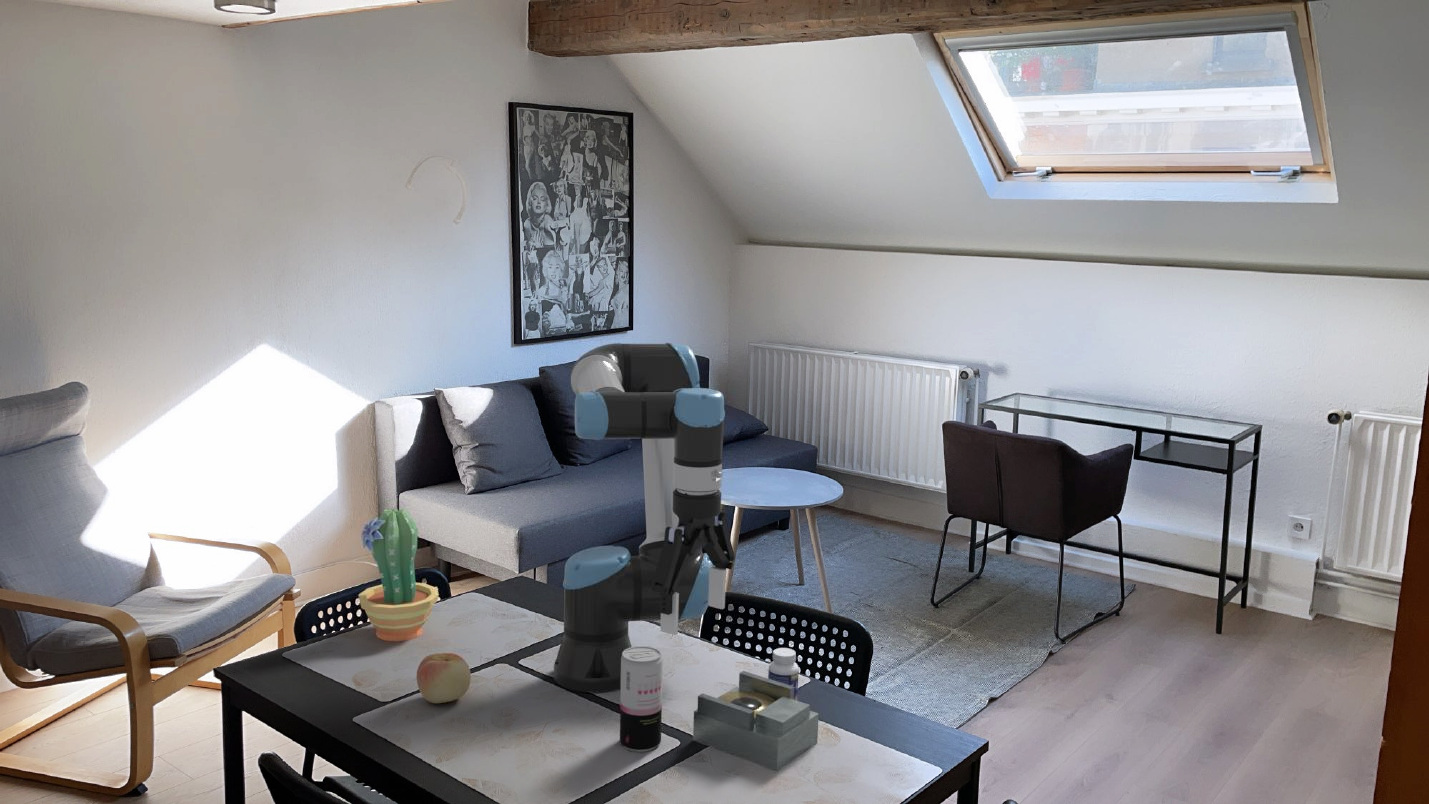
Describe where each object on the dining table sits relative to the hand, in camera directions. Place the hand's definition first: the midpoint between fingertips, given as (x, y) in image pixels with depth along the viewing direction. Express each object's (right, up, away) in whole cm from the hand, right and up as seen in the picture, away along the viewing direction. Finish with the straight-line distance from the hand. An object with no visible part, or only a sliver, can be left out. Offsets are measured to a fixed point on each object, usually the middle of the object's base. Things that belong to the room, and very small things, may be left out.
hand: (693, 619), depth 174 cm
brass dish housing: (+10, -20, +3) cm, 23 cm away
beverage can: (-8, -20, +1) cm, 22 cm away
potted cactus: (-59, -12, +45) cm, 75 cm away
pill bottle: (+15, -18, +19) cm, 30 cm away
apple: (-43, -17, +15) cm, 48 cm away
